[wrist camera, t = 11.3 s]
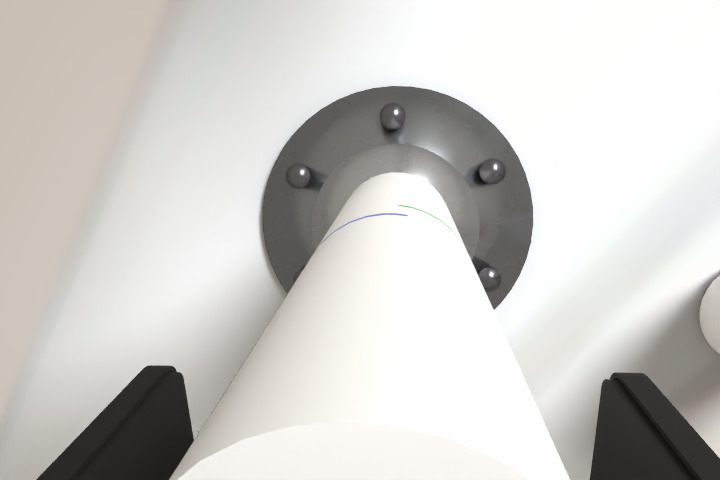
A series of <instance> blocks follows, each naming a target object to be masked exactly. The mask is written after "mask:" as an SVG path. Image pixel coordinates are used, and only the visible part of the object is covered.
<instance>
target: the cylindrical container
mask: <svg viewBox="0 0 720 480" xmlns="http://www.w3.org/2000/svg"><path fill="white" fill-rule="evenodd" d="M169 480H570V478H569V476H568V474H567V472H566V469H565V467H564V465H563V463H562V461H561V458H560V456H559V454H558V452H557V449H556V447H555V445H554V443H553V441H552V438H551V436H550V434H549V432H548V429H547V427H546V425H545V423H544V421H543V418H542V416H541V414H540V412H539V410H538V407H537V405H536V403H535V401H534V398H533V396H532V394H531V392H530V390H529V387H528V385H527V383H526V381H525V379H524V376H523V374H522V372H521V370H520V367H519V365H518V363H517V361H516V359H515V356H514V354H513V352H512V350H511V347H510V345H509V343H508V341H507V339H506V336H505V334H504V332H503V330H502V328H501V325H500V323H499V321H498V319H497V316H496V314H495V312H494V310H493V308H492V305H491V303H490V301H489V299H488V297H487V294H486V292H485V290H484V288H483V285H482V283H481V281H480V279H479V277H478V274H477V272H476V270H475V268H474V265H473V263H472V261H471V259H470V257H469V254H468V252H467V250H466V248H465V245H464V243H463V241H462V239H461V237H460V234H459V232H458V230H457V228H456V225H455V223H454V221H453V219H452V217H451V214H450V212H449V210H448V208H447V205H446V203H445V202H444V200H443V198H442V197H441V195H440V194H439V193H438V192H437V190H436V189H435V188H434V187H433V186H432V185H430V184H429V183H427V182H426V181H425V180H423V179H421V178H419V177H416V176H414V175H411V174H406V173H396V172H391V173H385V174H380V175H378V176H375V177H372V178H370V179H369V180H367V181H365V182H364V183H362V184H361V185H360V186H359V187H358V188H357V189H356V190H355V191H354V192H353V193H352V195H351V196H350V197H349V199H348V200H347V202H346V204H345V205H344V207H343V208H342V210H341V211H340V213H339V215H338V216H337V218H336V219H335V221H334V222H333V224H332V226H331V227H330V229H329V230H328V232H327V233H326V235H325V236H324V238H323V240H322V241H321V243H320V244H319V246H318V247H317V249H316V250H315V252H314V254H313V255H312V257H311V258H310V260H309V261H308V263H307V265H306V266H305V268H304V269H303V271H302V272H301V274H300V276H299V277H298V279H297V280H296V282H295V283H294V285H293V287H292V288H291V290H290V291H289V293H288V295H287V296H286V298H285V299H284V301H283V302H282V304H281V306H280V307H279V309H278V310H277V312H276V313H275V315H274V317H273V318H272V320H271V321H270V323H269V324H268V326H267V327H266V329H265V331H264V332H263V334H262V335H261V337H260V338H259V340H258V342H257V343H256V345H255V346H254V348H253V349H252V351H251V352H250V354H249V356H248V357H247V359H246V360H245V362H244V363H243V365H242V367H241V368H240V370H239V371H238V373H237V374H236V376H235V377H234V379H233V381H232V382H231V384H230V385H229V387H228V388H227V390H226V392H225V393H224V395H223V396H222V398H221V399H220V401H219V402H218V404H217V406H216V407H215V409H214V410H213V412H212V413H211V415H210V417H209V418H208V420H207V421H206V423H205V424H204V426H203V427H202V429H201V431H200V432H199V434H198V435H197V437H196V438H195V440H194V442H193V443H192V445H191V446H190V448H189V449H188V451H187V452H186V454H185V456H184V457H183V459H182V460H181V462H180V463H179V465H178V467H177V468H176V470H175V471H174V473H173V474H172V476H171V477H170V479H169Z"/></svg>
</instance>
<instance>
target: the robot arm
mask: <svg viewBox="0 0 720 480" xmlns="http://www.w3.org/2000/svg"><path fill="white" fill-rule="evenodd" d="M193 442H194V439H193V433H192V427H191V421H190V415H189V409H188V403H187V396H186V390H185V384H184V379H183V375H182V374H181V373H180V372H177V371H176V369H175V368H174V367H173V366H146V367H145V368H144V369H143V370H142V371H141V372H140V373H139V374H138V375H137V376H136V377H135V378H134V379H133V380H132V381H131V382H130V383H129V384H128V385H127V386H126V387H125V388H124V389H123V390H122V392H121V393H120V394H119V395H118V396H117V397H116V398H115V399H114V400H113V401H112V402H111V403H110V404H109V405H108V406H107V407H106V408H105V409H104V410H103V411H102V412H101V413H100V414H99V415H98V416H97V417H96V418H95V419H94V421H93V422H92V423H91V424H90V425H89V426H88V427H87V428H86V429H85V430H84V431H83V432H82V433H81V434H80V435H79V436H78V437H77V438H76V439H75V440H74V441H73V442H72V443H71V444H70V445H69V446H68V447H67V448H66V450H65V451H64V452H63V453H62V454H61V455H60V456H59V457H58V458H57V459H56V460H55V461H54V462H53V463H52V464H51V465H50V466H49V467H48V468H47V469H46V470H45V471H44V472H43V473H42V474H41V475H40V476H39V478H38V479H37V480H169V479H170V477H171V476H172V474H173V473H174V471H175V470H176V468H177V467H178V465H179V463H180V462H181V460H182V459H183V457H184V456H185V454H186V452H187V451H188V449H189V448H190V446H191V445H192V443H193ZM590 480H720V458H719V457H718V456H717V455H716V454H715V453H714V451H713V450H712V449H711V448H710V447H709V446H708V445H707V444H706V442H705V441H704V440H703V439H702V438H701V437H700V436H699V434H698V433H697V432H696V431H695V430H694V429H693V428H692V427H691V425H690V424H689V423H688V422H687V421H686V420H685V419H684V417H683V416H682V415H681V414H680V413H679V412H678V411H677V410H676V408H675V407H674V406H673V405H672V404H671V403H670V402H669V400H668V399H667V398H666V397H665V396H664V395H663V394H662V392H661V391H660V390H659V389H658V388H657V387H656V386H655V385H654V383H653V382H652V381H651V380H650V379H649V378H648V377H647V376H646V375H645V374H643V373H613V374H612V376H611V377H610V380H606V379H605V380H604V381H603V383H602V388H601V396H600V404H599V412H598V420H597V428H596V436H595V444H594V452H593V460H592V468H591V476H590Z"/></svg>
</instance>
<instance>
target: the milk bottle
mask: <svg viewBox="0 0 720 480" xmlns="http://www.w3.org/2000/svg"><path fill="white" fill-rule="evenodd" d="M699 321H700V324H701V329H702V332H703V335H704V337H705V339H706V340H707V342H708V343H709V345H710V346H711V347H712V348H713V349H714V350H715V351H716V352H718V353H719V354H720V275H719V276H718V277H717V278H716V279H715V280H713V282H712V283H711V285H710V286H709V287H708V289H707V290H706V292H705V294H704V296H703V298H702V301H701V306H700V309H699Z"/></svg>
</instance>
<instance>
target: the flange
mask: <svg viewBox="0 0 720 480" xmlns="http://www.w3.org/2000/svg"><path fill="white" fill-rule="evenodd" d="M391 172H396V173H406V174H411V175H414V176H416V177H419V178H421V179H423V180H425V181H426V182H427V183H429V184H430V185H432V186H433V187H434V188H435V189H436V190H437V192H438V193H439V194H440V195H441V197H442V198H443V200H444V202H445V203H446V205H447V208H448V210H449V212H450V214H451V217H452V219H453V221H454V223H455V225H456V228H457V230H458V232H459V234H460V237H461V239H462V241H463V243H464V245H465V248H466V250H467V252H468V254H469V257H470V259H471V261H472V263H473V265H474V268H475V270H476V272H477V274H478V277H479V279H480V281H481V283H482V285H483V288H484V290H485V292H486V294H487V297H488V299H489V301H490V303H491V305H492V308H493V310H494V309H495V308H496V307H497V306H498V305H499V304H500V303H501V302H502V301H503V299H504V298H505V297H506V296H507V294H508V293H509V292H510V290H511V289H512V287H513V285H514V284H515V282H516V280H517V279H518V277H519V275H520V273H521V270H522V268H523V266H524V263H525V261H526V258H527V254H528V251H529V247H530V243H531V236H532V228H533V206H532V199H531V192H530V188H529V184H528V181H527V178H526V174H525V172H524V169H523V167H522V165H521V163H520V161H519V158H518V156H517V155H516V153H515V151H514V150H513V148H512V147H511V145H510V144H509V142H508V141H507V139H506V138H505V137H504V136H503V135H502V134H501V132H500V131H499V130H498V129H497V128H496V127H495V126H494V125H493V124H492V123H491V122H490V121H489V120H488V119H486V118H485V117H484V116H483V115H482V114H480V113H479V112H477V111H476V110H474V109H473V108H471V107H470V106H468V105H467V104H465V103H463V102H461V101H459V100H457V99H455V98H452V97H450V96H448V95H445V94H442V93H439V92H435V91H432V90H428V89H422V88H416V87H403V86H390V87H381V88H373V89H369V90H365V91H361V92H357V93H354V94H351V95H349V96H346V97H344V98H341V99H339V100H337V101H335V102H333V103H331V104H330V105H328V106H326V107H324V108H323V109H321V110H320V111H318V112H317V113H316V114H315V115H313V116H312V117H311V118H309V119H308V120H307V121H306V122H305V123H304V124H303V125H302V126H301V127H300V128H299V129H298V130H297V131H296V132H295V133H294V134H293V136H292V137H291V138H290V140H289V141H288V142H287V144H286V145H285V146H284V148H283V149H282V151H281V153H280V155H279V157H278V158H277V160H276V162H275V164H274V167H273V169H272V172H271V174H270V177H269V180H268V184H267V188H266V192H265V197H264V206H263V231H264V237H265V244H266V248H267V252H268V255H269V258H270V262H271V264H272V266H273V269H274V271H275V273H276V275H277V277H278V279H279V281H280V283H281V284H282V286H283V288H284V289H285V291H286V292H287V293H289V291H290V290H291V288H292V287H293V285H294V283H295V282H296V280H297V279H298V277H299V276H300V274H301V272H302V271H303V269H304V268H305V266H306V265H307V263H308V261H309V260H310V258H311V257H312V255H313V254H314V252H315V250H316V249H317V247H318V246H319V244H320V243H321V241H322V240H323V238H324V236H325V235H326V233H327V232H328V230H329V229H330V227H331V226H332V224H333V222H334V221H335V219H336V218H337V216H338V215H339V213H340V211H341V210H342V208H343V207H344V205H345V204H346V202H347V200H348V199H349V197H350V196H351V195H352V193H353V192H354V191H355V190H356V189H357V188H358V187H359V186H360V185H361V184H362V183H364V182H365V181H367V180H369V179H370V178H372V177H375V176H378V175H380V174H385V173H391Z"/></svg>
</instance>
